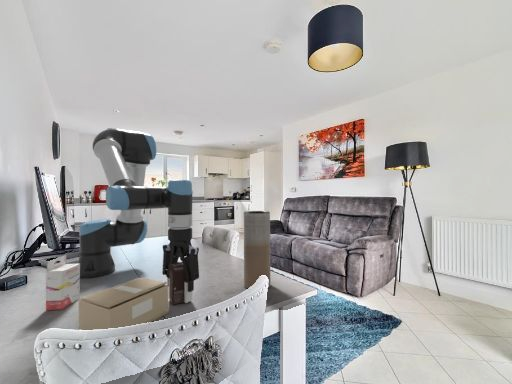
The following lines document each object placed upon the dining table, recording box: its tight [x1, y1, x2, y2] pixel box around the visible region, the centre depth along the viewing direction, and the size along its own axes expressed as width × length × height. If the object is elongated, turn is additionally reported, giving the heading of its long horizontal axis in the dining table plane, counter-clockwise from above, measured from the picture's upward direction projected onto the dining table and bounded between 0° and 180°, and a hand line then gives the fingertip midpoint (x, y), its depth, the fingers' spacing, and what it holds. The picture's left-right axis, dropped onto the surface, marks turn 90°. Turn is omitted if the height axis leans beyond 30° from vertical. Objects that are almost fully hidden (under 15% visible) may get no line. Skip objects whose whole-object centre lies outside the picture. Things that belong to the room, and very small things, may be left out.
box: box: [169, 261, 187, 305], centre depth 79 cm, size 6×4×12 cm
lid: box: [80, 277, 168, 308], centre depth 66 cm, size 11×17×1 cm
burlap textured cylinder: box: [243, 210, 271, 289], centre depth 92 cm, size 10×10×28 cm
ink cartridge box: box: [45, 255, 81, 311], centre depth 78 cm, size 9×5×15 cm, turn 5°
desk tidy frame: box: [38, 251, 80, 267], centre depth 127 cm, size 20×20×2 cm
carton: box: [78, 284, 169, 330], centre depth 66 cm, size 13×17×8 cm
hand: (180, 298), depth 79 cm, fingers closed on box, 6 cm apart
